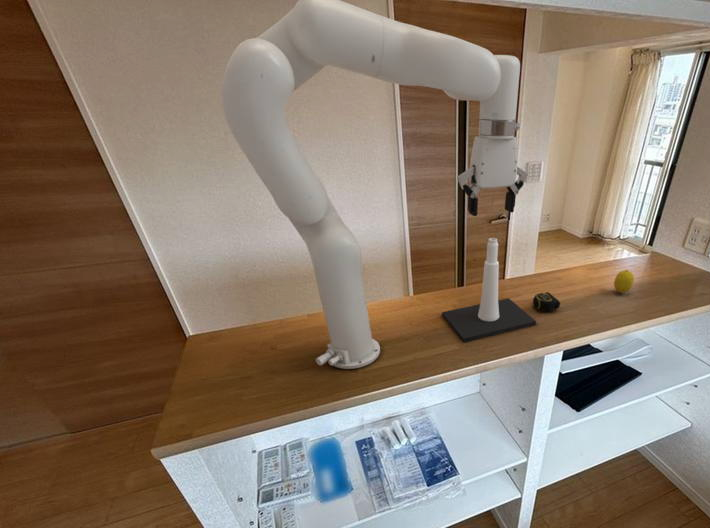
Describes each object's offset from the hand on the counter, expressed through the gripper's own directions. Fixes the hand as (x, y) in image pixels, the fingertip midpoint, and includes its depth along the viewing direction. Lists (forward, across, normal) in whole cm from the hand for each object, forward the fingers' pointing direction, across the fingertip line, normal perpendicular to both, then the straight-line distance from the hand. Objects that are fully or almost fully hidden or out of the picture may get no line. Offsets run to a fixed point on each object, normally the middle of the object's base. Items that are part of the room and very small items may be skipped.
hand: (491, 212), depth 88 cm
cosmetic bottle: (+29, -1, 0) cm, 29 cm away
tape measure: (+30, -20, 0) cm, 36 cm away
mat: (+30, -1, 0) cm, 30 cm away
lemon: (+29, -48, +2) cm, 56 cm away
